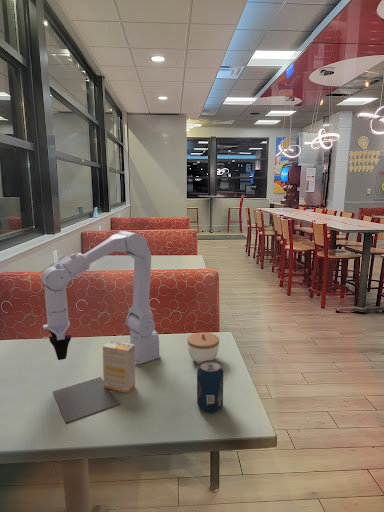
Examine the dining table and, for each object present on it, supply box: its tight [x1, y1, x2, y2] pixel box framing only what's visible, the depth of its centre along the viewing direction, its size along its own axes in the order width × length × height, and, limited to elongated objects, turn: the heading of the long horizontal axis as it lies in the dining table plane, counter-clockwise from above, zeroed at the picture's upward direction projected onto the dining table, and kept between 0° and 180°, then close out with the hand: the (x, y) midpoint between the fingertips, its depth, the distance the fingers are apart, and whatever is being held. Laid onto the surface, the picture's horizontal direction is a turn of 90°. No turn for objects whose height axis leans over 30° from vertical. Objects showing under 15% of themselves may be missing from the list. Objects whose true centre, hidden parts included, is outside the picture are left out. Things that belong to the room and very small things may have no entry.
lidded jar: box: [186, 331, 220, 365], centre depth 116 cm, size 11×11×9 cm
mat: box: [52, 376, 121, 424], centre depth 95 cm, size 14×16×1 cm
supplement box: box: [102, 340, 136, 394], centre depth 100 cm, size 8×5×13 cm, turn 71°
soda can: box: [196, 359, 224, 414], centre depth 91 cm, size 7×7×12 cm
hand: (60, 353), depth 100 cm, fingers open, 7 cm apart
